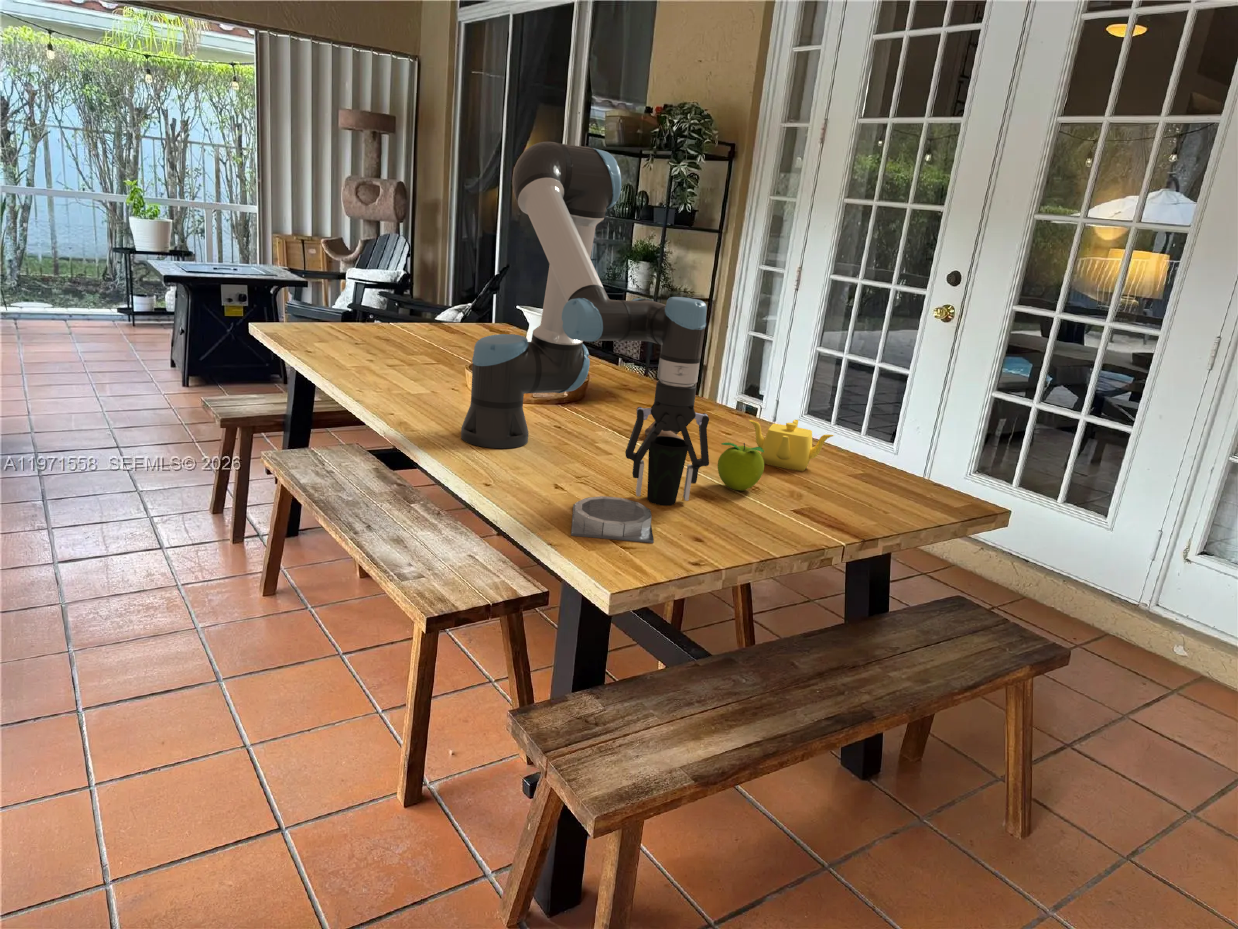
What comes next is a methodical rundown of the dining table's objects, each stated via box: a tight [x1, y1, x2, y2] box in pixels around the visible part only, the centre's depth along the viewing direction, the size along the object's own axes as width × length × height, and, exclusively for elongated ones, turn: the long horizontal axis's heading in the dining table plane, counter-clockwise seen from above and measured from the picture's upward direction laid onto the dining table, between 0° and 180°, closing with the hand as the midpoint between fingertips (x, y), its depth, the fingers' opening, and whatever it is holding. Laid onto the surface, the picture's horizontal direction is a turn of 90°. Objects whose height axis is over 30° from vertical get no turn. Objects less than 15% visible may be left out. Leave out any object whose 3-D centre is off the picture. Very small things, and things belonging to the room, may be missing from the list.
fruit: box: [717, 442, 765, 492], centre depth 174 cm, size 9×9×10 cm
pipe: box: [644, 420, 683, 439], centre depth 205 cm, size 6×17×10 cm
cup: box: [646, 436, 688, 507], centre depth 162 cm, size 8×8×12 cm
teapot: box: [748, 419, 835, 472], centre depth 197 cm, size 15×14×10 cm
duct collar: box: [570, 495, 655, 544], centre depth 148 cm, size 14×14×3 cm
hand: (662, 496), depth 163 cm, fingers open, 9 cm apart
